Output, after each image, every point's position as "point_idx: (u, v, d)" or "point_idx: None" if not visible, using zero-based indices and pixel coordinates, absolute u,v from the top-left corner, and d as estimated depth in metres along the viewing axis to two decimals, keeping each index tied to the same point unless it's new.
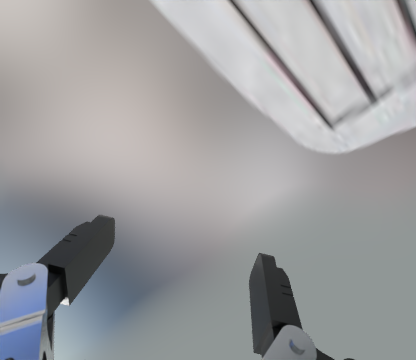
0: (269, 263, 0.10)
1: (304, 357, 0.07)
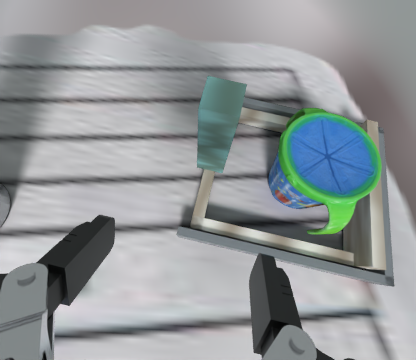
0: (269, 263, 0.10)
1: (304, 357, 0.07)
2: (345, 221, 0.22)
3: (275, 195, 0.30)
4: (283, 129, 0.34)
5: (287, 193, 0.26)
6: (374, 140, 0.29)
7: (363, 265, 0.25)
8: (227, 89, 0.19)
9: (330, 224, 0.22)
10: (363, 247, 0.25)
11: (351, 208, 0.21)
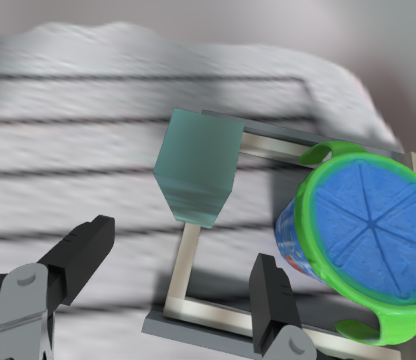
0: (269, 263, 0.10)
1: (304, 357, 0.07)
2: (406, 338, 0.13)
3: (285, 258, 0.21)
4: (294, 160, 0.25)
5: (305, 269, 0.17)
6: None
7: None
8: (208, 134, 0.10)
9: (381, 342, 0.13)
10: None
11: None
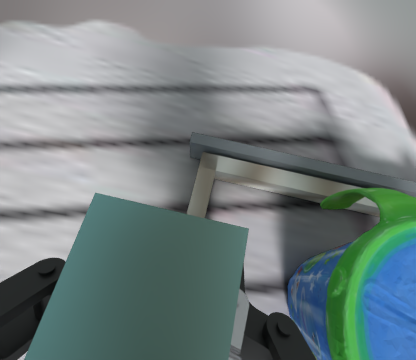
0: None
1: (236, 310, 0.08)
2: None
3: None
4: (310, 197, 0.20)
5: None
6: None
7: None
8: (166, 260, 0.04)
9: None
10: None
11: None
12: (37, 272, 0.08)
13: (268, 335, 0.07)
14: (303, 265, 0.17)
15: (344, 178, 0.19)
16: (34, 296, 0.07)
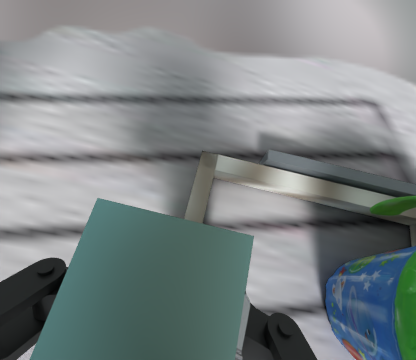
0: None
1: None
2: None
3: (341, 340, 0.16)
4: (309, 197, 0.20)
5: None
6: None
7: None
8: (170, 268, 0.04)
9: None
10: None
11: None
12: (36, 272, 0.08)
13: (269, 335, 0.07)
14: (345, 266, 0.17)
15: None
16: (33, 296, 0.07)
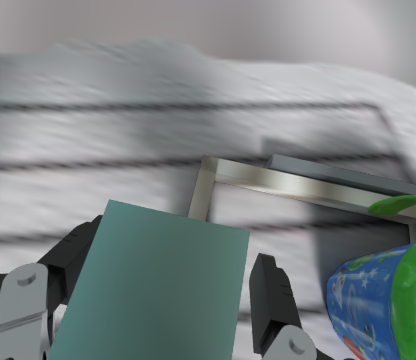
0: (269, 263, 0.10)
1: (304, 357, 0.07)
2: None
3: (342, 338, 0.16)
4: (308, 198, 0.20)
5: None
6: None
7: None
8: (176, 261, 0.05)
9: None
10: None
11: None
12: None
13: None
14: (345, 265, 0.18)
15: None
16: None
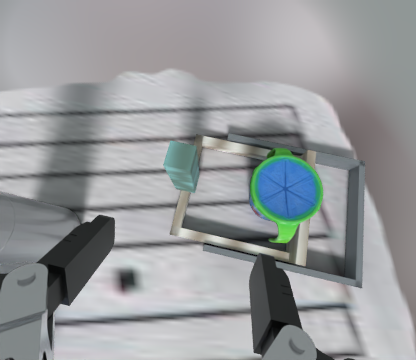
0: (269, 263, 0.10)
1: (304, 357, 0.07)
2: (289, 236, 0.31)
3: (252, 209, 0.39)
4: (246, 154, 0.43)
5: (256, 210, 0.35)
6: None
7: (292, 262, 0.35)
8: (183, 150, 0.28)
9: (279, 237, 0.31)
10: (294, 249, 0.35)
11: (294, 228, 0.31)
12: None
13: None
14: None
15: (298, 153, 0.41)
16: None
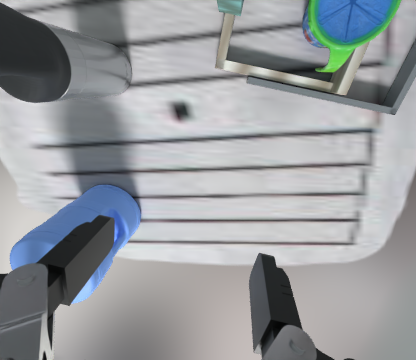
0: (269, 263, 0.10)
1: (304, 357, 0.07)
2: (340, 64, 0.31)
3: (304, 33, 0.36)
4: None
5: (310, 35, 0.32)
6: None
7: (333, 92, 0.36)
8: None
9: (328, 65, 0.31)
10: (339, 79, 0.35)
11: (348, 54, 0.29)
12: None
13: None
14: None
15: None
16: None
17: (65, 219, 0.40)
